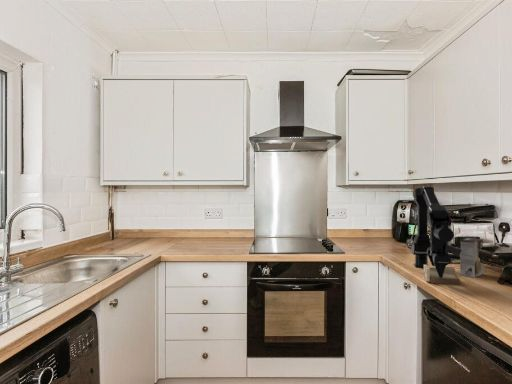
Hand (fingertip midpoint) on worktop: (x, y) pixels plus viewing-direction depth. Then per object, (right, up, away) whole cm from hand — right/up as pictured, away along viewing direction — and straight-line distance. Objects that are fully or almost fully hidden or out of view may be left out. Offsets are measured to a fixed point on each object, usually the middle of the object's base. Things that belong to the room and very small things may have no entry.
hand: (438, 274), depth 146 cm
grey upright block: (+20, -3, +9) cm, 22 cm away
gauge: (0, -2, 0) cm, 2 cm away
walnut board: (+3, -3, +4) cm, 6 cm away
